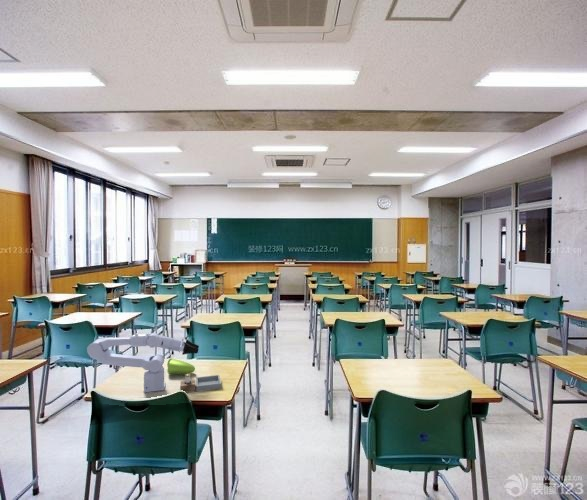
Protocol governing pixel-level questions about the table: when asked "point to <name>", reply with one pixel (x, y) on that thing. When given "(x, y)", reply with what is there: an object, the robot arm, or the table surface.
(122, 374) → the table surface
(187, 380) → the pin
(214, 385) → the tray
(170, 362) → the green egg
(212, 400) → the table surface
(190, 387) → the pin block
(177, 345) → the robot arm
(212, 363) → the table surface
